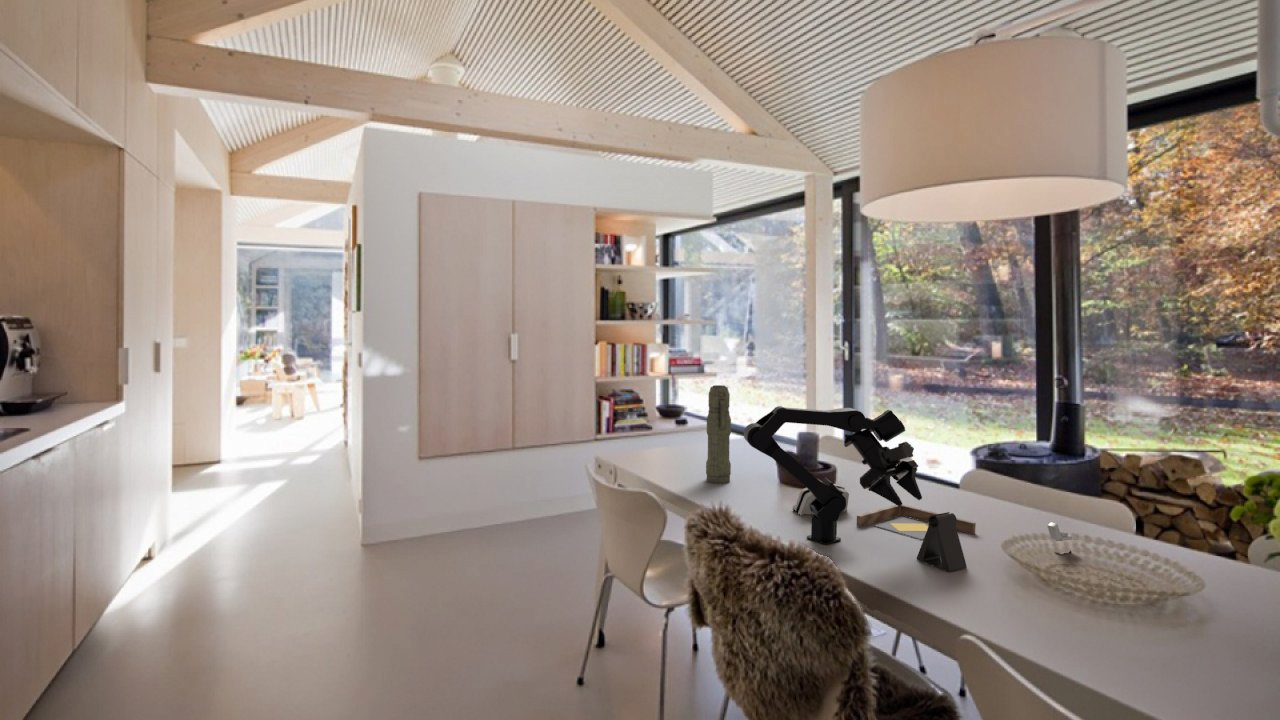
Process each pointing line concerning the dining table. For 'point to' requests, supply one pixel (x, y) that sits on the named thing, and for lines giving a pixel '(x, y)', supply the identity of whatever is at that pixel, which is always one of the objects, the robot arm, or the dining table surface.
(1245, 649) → the dining table surface
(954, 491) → the dining table surface
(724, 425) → the green stone statue
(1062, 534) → the grey l-shaped piece
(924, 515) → the corner walls
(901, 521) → the mat
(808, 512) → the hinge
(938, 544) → the dark grey a-frame stand
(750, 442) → the robot arm
